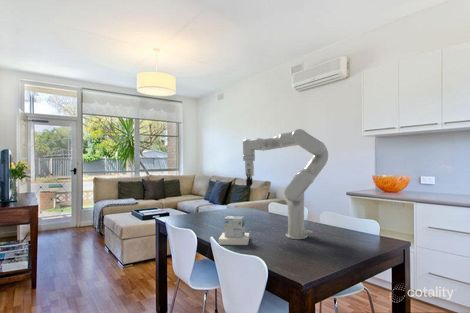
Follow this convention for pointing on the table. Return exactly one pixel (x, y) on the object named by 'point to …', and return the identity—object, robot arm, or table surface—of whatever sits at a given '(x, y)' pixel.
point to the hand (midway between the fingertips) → (249, 185)
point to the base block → (234, 240)
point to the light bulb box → (234, 226)
